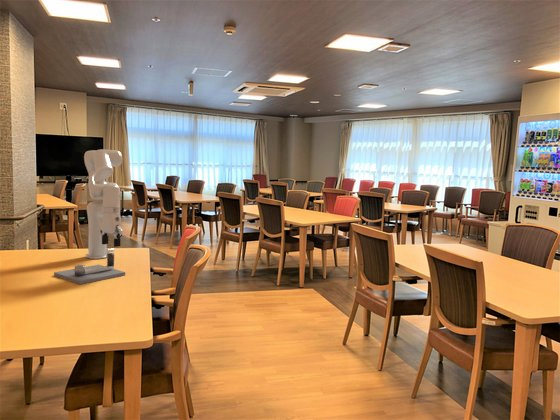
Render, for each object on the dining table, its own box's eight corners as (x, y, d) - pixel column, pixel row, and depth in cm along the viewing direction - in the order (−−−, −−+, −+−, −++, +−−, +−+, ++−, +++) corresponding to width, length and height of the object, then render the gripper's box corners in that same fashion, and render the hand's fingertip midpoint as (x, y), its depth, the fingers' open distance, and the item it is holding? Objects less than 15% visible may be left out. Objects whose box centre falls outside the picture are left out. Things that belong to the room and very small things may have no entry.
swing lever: (77, 276, 196) (77, 260, 196) (72, 274, 199) (72, 258, 198) (116, 268, 213) (116, 253, 212) (110, 267, 215) (110, 252, 214)
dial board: (98, 267, 222) (98, 264, 222) (125, 275, 209) (125, 271, 209) (54, 275, 203) (54, 271, 203) (80, 284, 190) (80, 280, 190)
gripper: (128, 211, 208) (128, 246, 209) (107, 208, 217) (107, 242, 219) (115, 212, 202) (115, 248, 203) (93, 209, 211) (93, 244, 213)
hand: (111, 245), depth 211 cm, fingers open, 9 cm apart
